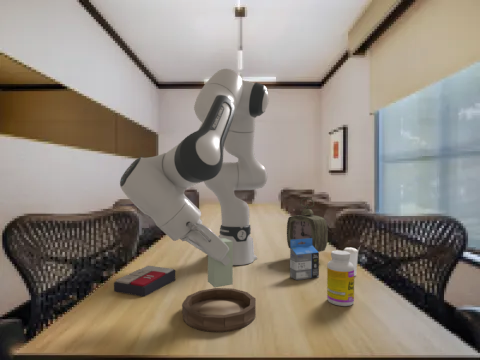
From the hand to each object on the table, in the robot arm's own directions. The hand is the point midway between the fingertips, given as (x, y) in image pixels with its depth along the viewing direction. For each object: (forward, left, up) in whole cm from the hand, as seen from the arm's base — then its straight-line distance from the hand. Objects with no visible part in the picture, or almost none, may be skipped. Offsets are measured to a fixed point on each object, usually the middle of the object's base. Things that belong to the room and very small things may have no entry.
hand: (222, 259), depth 69 cm
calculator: (-28, -14, -13) cm, 34 cm away
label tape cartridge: (-13, +34, -13) cm, 39 cm away
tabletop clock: (-30, +49, -13) cm, 59 cm away
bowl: (0, -1, -13) cm, 13 cm away
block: (0, -1, -5) cm, 5 cm away
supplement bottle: (+7, +30, -13) cm, 34 cm away
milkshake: (-8, +50, -13) cm, 53 cm away
